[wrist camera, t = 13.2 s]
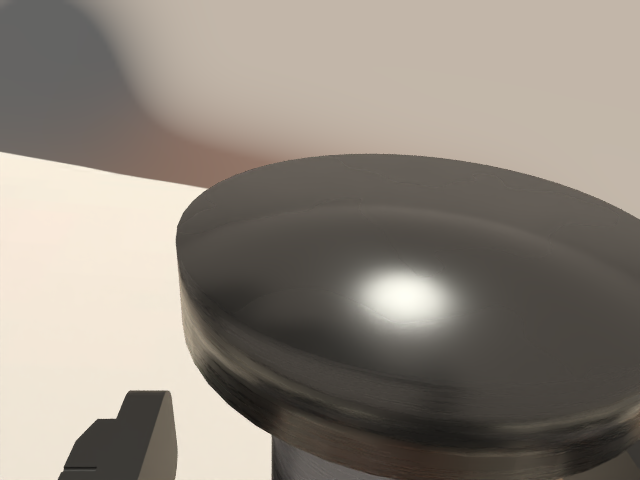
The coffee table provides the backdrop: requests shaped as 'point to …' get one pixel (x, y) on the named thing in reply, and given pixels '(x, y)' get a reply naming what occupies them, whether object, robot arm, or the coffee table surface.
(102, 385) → the coffee table surface
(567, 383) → the peg
